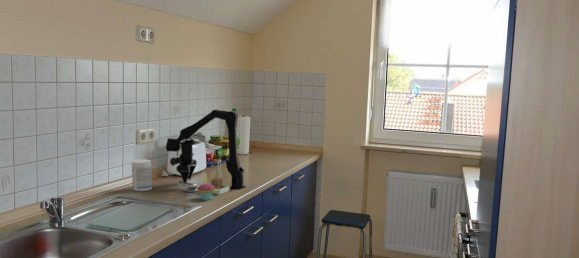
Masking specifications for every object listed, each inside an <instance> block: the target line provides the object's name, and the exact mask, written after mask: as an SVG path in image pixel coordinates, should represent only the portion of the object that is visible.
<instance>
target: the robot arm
mask: <svg viewBox="0 0 579 258" xmlns="http://www.w3.org/2000/svg"><path fill="white" fill-rule="evenodd" d="M214 119H220V120H224V121H225V125H226V127H227V132H228V136H227V137H228V154H229V155H228V158H227V159H225V164H226V167H225V169H226V170H227V172H228V173H229V174H230V176H231V183H230V189H237V190H240V189H244V188H246V187H247V186H246V185H244V174H245V170H244V168H242V166H241V162H240V159H239V157H238V145H237V144H238V141H237V126H238V120H239V114H238V112H237V111H235V110H230V111H227V110H221V109H220V110H219V109H213V110H211V111H210V112H209V113H208V114H206V115H205V116H203V117H202V118H200V119H199V120H198V121H196V122H194V123H193V124H190V125H189V126H187V127H185V128H183V129H181V130H180V132H179V136H178V137H177V138H171V137H168V138H167V142H166V143H165V144H166V145H165V149H166V151H167V152H172V153H173V152H174V153H175V152H176V153H177V152H179V151H180V152H181V153H180V154H179V156H177V157H171V158H170V160H169V164H170V165H171V167H173V166H175V165H177V166H176V172H178V173H179V174H180V175H181V179H182V182H185V183H188V182H187V181H188V180H191V178H192V177H193V174H194V171H195V169H196V167H197V165H198V161H197V160H196V159H193V156H194V152H193V145H195V144H197V141H196V140H195V139H194V138H192V137H194V136H195V134H196V133H197V132H199V130H200V129H202V128H203V127H205V126H206V125H208V124H209V123H210V122H212V121H213V120H214Z"/></svg>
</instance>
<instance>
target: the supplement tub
mask: <svg viewBox="0 0 579 258" xmlns="http://www.w3.org/2000/svg"><path fill="white" fill-rule="evenodd" d="M152 166H153V165H152V160H151V159H145V158H144V159H143V158H142V159H133V160H132V161H131V178H132V179H131V180H132V190H133V191H134V192H147V191H151V190H152V189H153V172H152V171H153V167H152Z"/></svg>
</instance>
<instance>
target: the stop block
mask: <svg viewBox="0 0 579 258" xmlns="http://www.w3.org/2000/svg"><path fill="white" fill-rule="evenodd" d="M210 182H211V185H213V186H214V187H215V189H218V190H219V189H222V188H223V186H224V185H223V184H224V183H223V182H224V179H223V178H221V177H214V178H212V179H211V181H210Z"/></svg>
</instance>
